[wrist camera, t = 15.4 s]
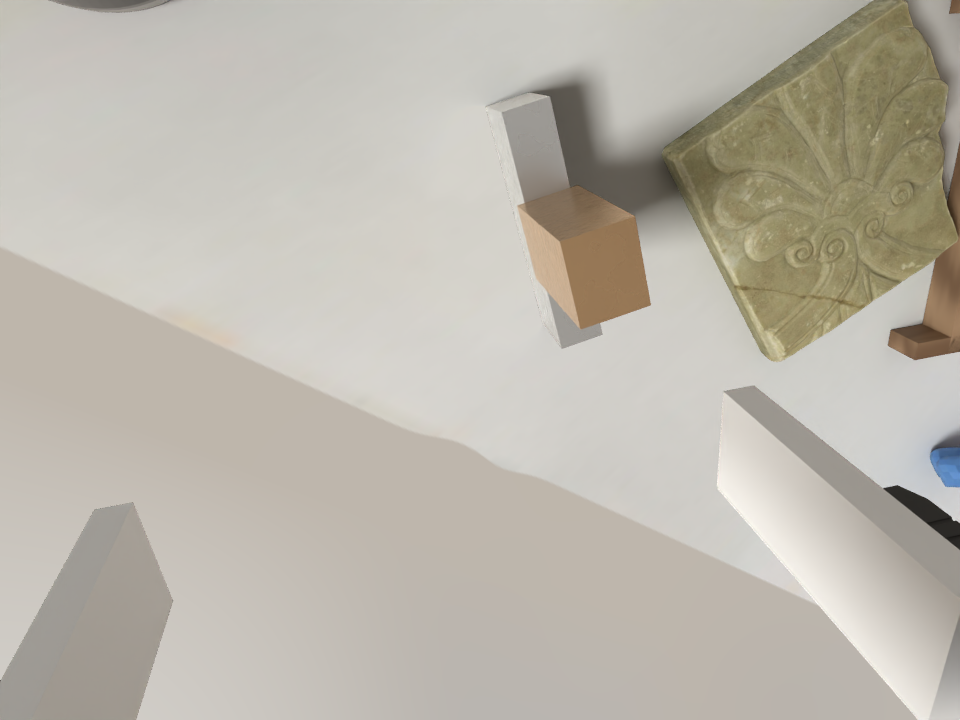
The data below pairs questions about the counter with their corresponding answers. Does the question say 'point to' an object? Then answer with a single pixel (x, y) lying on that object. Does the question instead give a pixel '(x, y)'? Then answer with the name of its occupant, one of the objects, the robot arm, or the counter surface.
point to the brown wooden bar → (939, 291)
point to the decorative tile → (823, 178)
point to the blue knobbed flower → (947, 465)
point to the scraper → (565, 227)
